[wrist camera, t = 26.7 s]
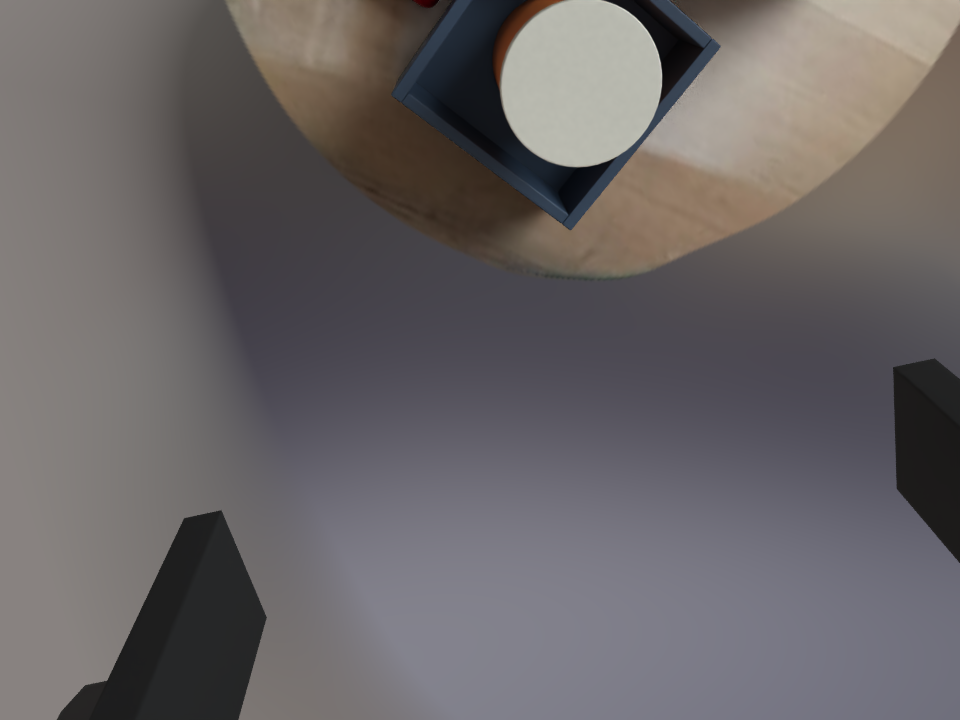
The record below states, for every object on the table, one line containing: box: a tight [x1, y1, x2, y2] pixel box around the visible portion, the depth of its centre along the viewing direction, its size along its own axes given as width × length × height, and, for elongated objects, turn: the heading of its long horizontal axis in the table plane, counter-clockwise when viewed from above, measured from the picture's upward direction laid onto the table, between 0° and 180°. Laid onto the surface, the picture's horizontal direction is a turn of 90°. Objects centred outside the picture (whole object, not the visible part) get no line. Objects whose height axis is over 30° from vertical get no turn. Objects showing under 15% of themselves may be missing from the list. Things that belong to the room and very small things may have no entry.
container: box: [492, 0, 662, 167], centre depth 41 cm, size 7×7×11 cm
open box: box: [391, 0, 721, 230], centre depth 44 cm, size 11×11×6 cm
